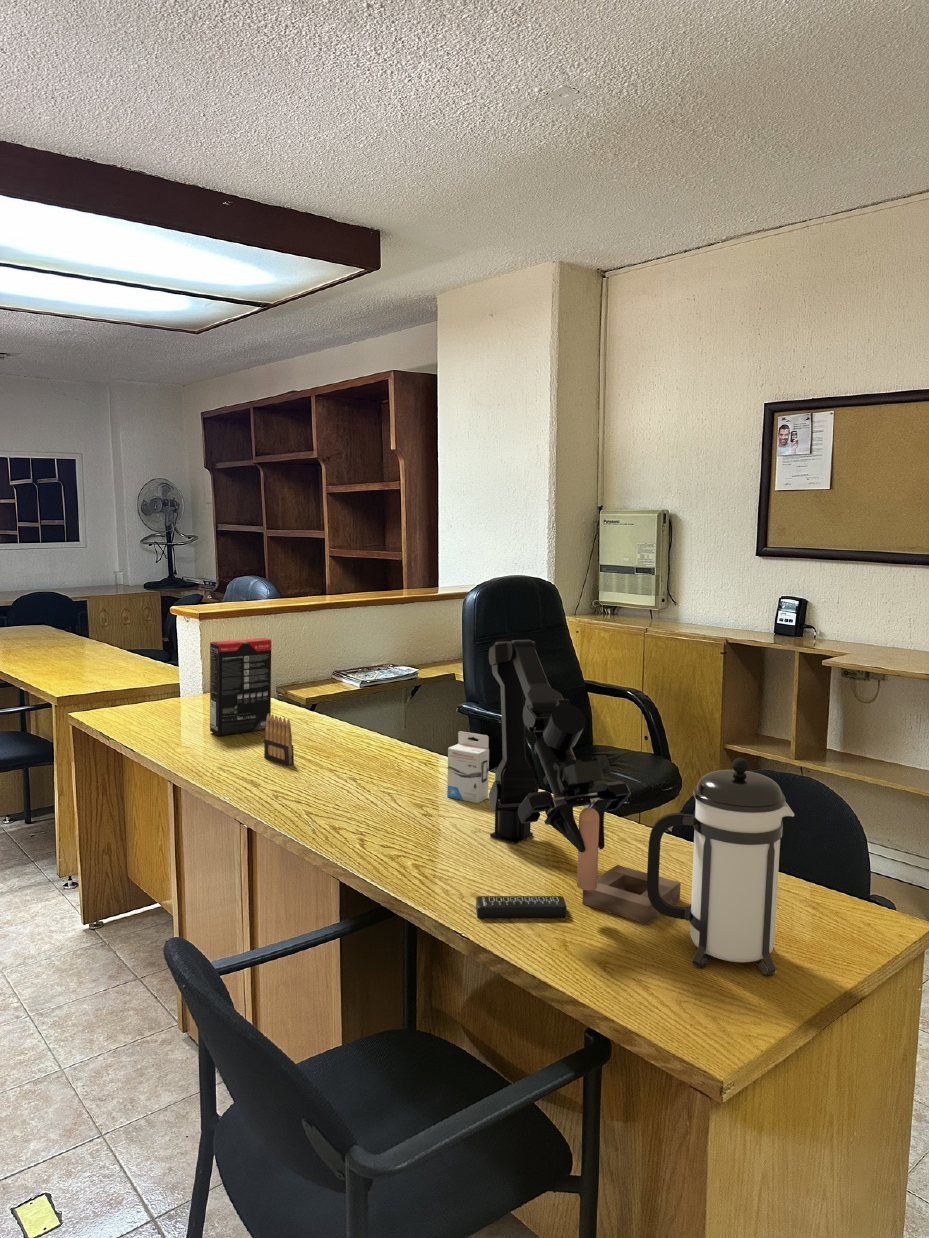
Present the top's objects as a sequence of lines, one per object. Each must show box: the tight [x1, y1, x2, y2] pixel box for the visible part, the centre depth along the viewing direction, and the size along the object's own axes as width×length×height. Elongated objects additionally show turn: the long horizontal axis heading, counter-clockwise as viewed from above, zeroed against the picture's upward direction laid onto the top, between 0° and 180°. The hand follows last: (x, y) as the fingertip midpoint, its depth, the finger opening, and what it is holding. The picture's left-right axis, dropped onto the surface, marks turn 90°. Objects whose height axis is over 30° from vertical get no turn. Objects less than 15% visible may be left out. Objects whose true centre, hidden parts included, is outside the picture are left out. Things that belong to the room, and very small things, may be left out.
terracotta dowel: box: [576, 808, 599, 891], centre depth 143 cm, size 3×3×13 cm
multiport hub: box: [475, 895, 568, 920], centre depth 145 cm, size 4×14×2 cm, turn 92°
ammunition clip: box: [263, 713, 295, 767], centre depth 231 cm, size 11×2×12 cm, turn 47°
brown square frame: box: [582, 864, 682, 925], centre depth 150 cm, size 12×12×3 cm
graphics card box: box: [209, 637, 272, 736], centre depth 261 cm, size 17×7×27 cm, turn 130°
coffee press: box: [646, 757, 795, 977], centre depth 130 cm, size 17×16×30 cm
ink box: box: [446, 730, 490, 804], centre depth 203 cm, size 8×5×15 cm, turn 60°
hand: (592, 849), depth 141 cm, fingers closed on terracotta dowel, 3 cm apart
